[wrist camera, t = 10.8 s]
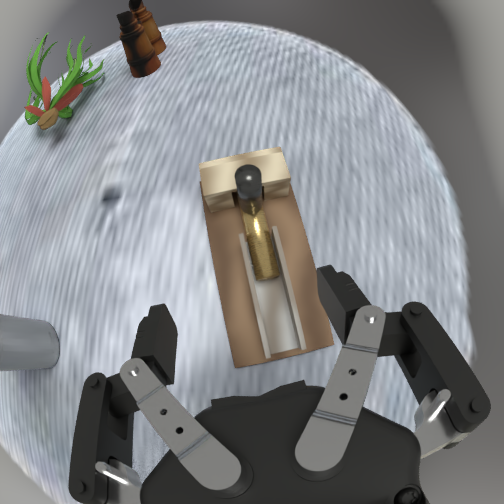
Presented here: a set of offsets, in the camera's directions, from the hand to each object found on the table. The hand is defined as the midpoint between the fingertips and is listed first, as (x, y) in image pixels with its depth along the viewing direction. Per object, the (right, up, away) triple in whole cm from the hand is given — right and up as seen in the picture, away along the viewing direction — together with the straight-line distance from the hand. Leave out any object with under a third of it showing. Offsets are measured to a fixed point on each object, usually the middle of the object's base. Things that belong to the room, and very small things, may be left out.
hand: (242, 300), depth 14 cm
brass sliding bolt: (+1, +6, +25) cm, 26 cm away
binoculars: (-28, +55, +43) cm, 75 cm away
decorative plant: (-49, +43, +40) cm, 77 cm away
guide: (+2, +2, +26) cm, 26 cm away
